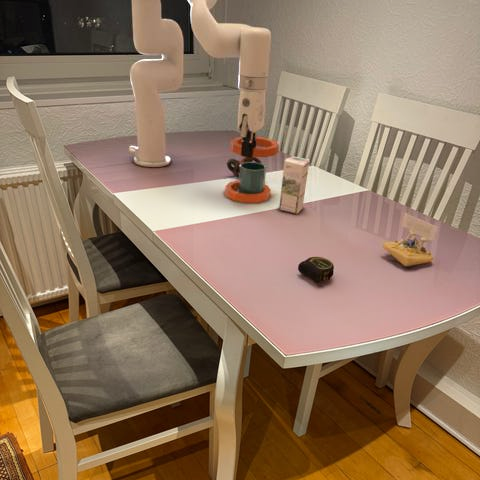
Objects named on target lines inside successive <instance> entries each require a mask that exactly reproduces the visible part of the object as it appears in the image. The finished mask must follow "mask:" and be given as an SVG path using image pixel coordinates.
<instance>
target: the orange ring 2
mask: <svg viewBox="0 0 480 480" xmlns="http://www.w3.org/2000/svg"><path fill="white" fill-rule="evenodd" d="M238 186H239V179H237V180H234V181H229V182H228V183H227V184H226V185H225V187H224V193H225V196H226V197H227V198H228V199H231V200H232V201H234V202H238V203H239V202H240V203H245V204H259V203H263V202H267V201H268V200H269V198H270V197H271V188H270V187H269V185H267V184H265V187H264V191H263V192H261V193H258V194H244V193H239V192H238ZM236 190H237V191H236Z"/></svg>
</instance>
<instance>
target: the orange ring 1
mask: <svg viewBox="0 0 480 480" xmlns="http://www.w3.org/2000/svg"><path fill="white" fill-rule="evenodd" d="M255 141H256V148H253V156H252V157H256V158H269V157H274V156H276V155H277V154H279V149H280V144H279V143H278V142H277V141H276V140H273V139H270V138H266V137H261V136H257V138H256V140H255ZM241 148H242V137H241V136H239V137H235V138H232V140H230V150H231V151H232V153H234V154H236V155H239V156H241Z"/></svg>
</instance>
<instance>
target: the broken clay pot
mask: <svg viewBox="0 0 480 480" xmlns="http://www.w3.org/2000/svg"><path fill="white" fill-rule="evenodd" d="M245 162H256V163H261V164H263V163H262V161H261V160H260V159H259V157H251V158H249V157H243V156H242V158H241V159H239V160H238V159H235V158H230V159H228V160H227V162H226V167H227V169H228V171H230V172H231V173H232V175H233V176H238V175H239V170H240V164H241V163H245Z"/></svg>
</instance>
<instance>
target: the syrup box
mask: <svg viewBox="0 0 480 480" xmlns="http://www.w3.org/2000/svg"><path fill="white" fill-rule="evenodd" d="M309 167H310V159H309V158H303V157H299V156H295V155H290V156H288V157H287V158H285V160H284V162H283V169H282V180H281V187H280V196H279V197H280V198H279V205H278V206H279V207H278V210H279V211H281V212H287V213H291V214H294V215H295V214H296V215H298V214H299V212H301V210H302V209H303V208H304V203H305V193H306V187H307V181H308V175H309V169H310V168H309Z"/></svg>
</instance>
